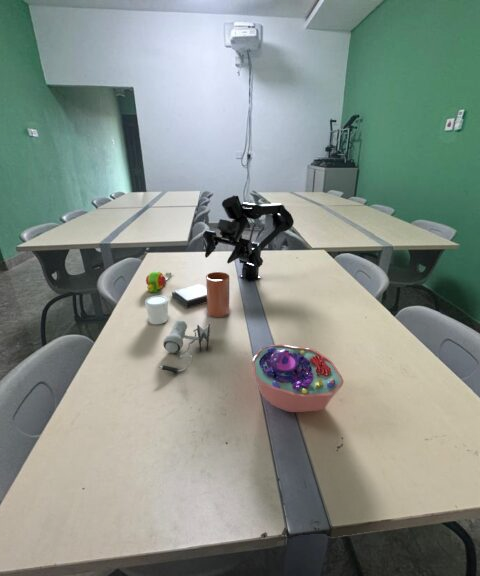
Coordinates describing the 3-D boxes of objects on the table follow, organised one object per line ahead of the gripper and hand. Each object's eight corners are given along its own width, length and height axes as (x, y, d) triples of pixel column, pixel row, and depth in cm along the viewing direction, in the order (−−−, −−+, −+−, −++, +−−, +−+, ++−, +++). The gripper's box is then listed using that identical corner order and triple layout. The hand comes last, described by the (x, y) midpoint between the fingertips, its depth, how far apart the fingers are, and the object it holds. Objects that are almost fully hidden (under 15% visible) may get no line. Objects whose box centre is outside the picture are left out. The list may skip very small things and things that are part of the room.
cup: (221, 305, 111) (220, 270, 105) (233, 313, 106) (233, 277, 100) (203, 311, 106) (201, 275, 101) (215, 319, 101) (214, 282, 96)
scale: (200, 288, 122) (200, 283, 121) (216, 299, 115) (216, 292, 114) (172, 296, 115) (171, 290, 114) (187, 308, 108) (186, 301, 107)
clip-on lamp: (198, 384, 78) (213, 333, 92) (198, 368, 74) (214, 317, 88) (151, 377, 78) (174, 326, 92) (149, 361, 74) (172, 310, 89)
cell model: (320, 445, 60) (328, 400, 55) (234, 401, 69) (235, 359, 65) (347, 393, 73) (355, 352, 68) (272, 362, 83) (275, 324, 78)
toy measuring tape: (141, 293, 117) (139, 277, 114) (162, 274, 134) (160, 259, 132) (158, 295, 116) (156, 278, 113) (176, 275, 134) (175, 261, 131)
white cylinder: (172, 315, 103) (171, 296, 100) (165, 326, 97) (163, 306, 94) (152, 313, 103) (150, 294, 101) (143, 324, 97) (140, 304, 94)
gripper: (208, 207, 115) (186, 238, 108) (254, 216, 108) (234, 250, 101) (217, 229, 124) (197, 259, 117) (260, 238, 117) (241, 271, 110)
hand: (216, 259), depth 111 cm, fingers open, 9 cm apart
